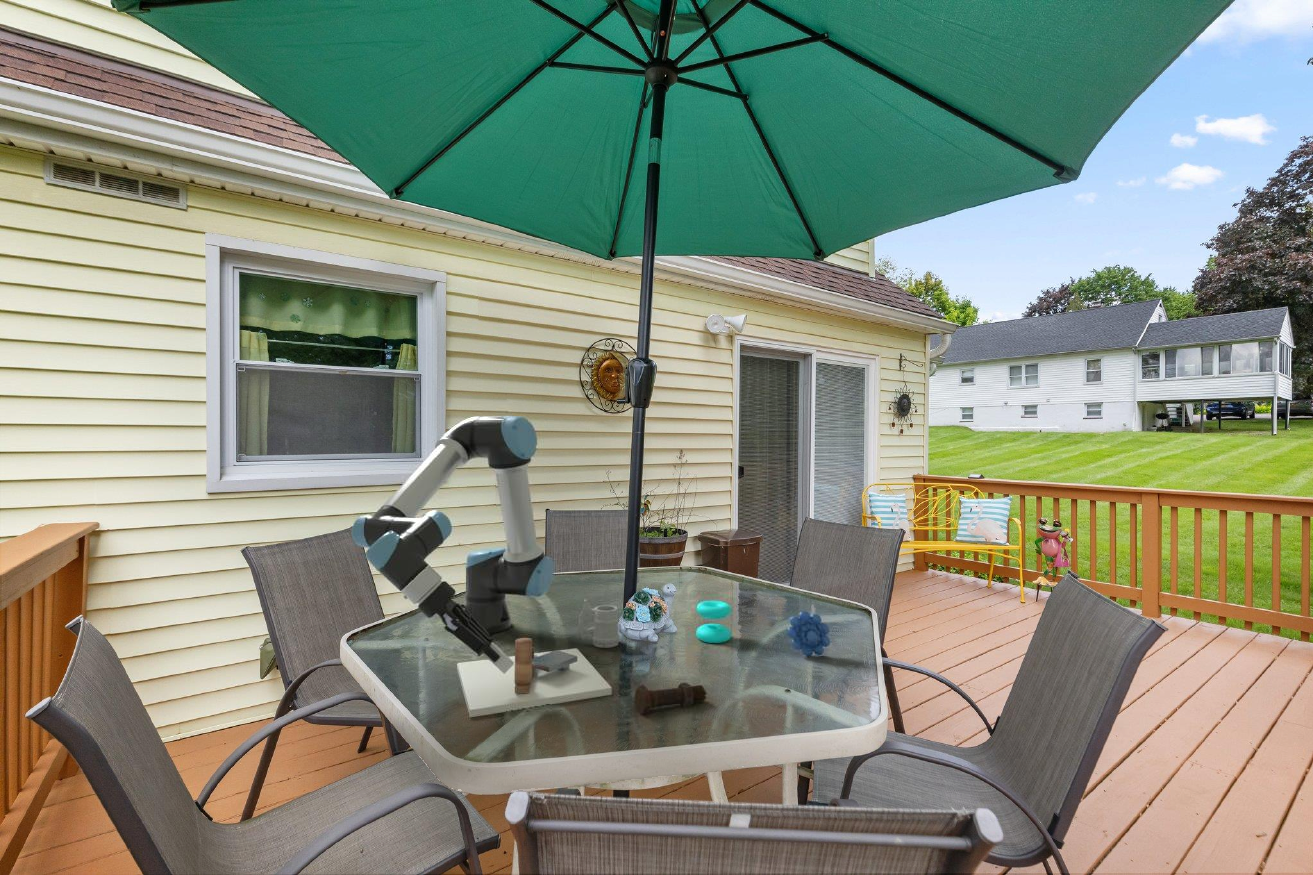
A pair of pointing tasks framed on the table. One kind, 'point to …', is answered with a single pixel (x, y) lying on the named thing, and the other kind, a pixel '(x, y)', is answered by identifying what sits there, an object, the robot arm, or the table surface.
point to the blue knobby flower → (808, 633)
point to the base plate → (497, 690)
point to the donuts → (713, 631)
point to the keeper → (554, 661)
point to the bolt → (667, 697)
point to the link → (523, 665)
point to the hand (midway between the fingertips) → (509, 667)
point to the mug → (600, 625)
